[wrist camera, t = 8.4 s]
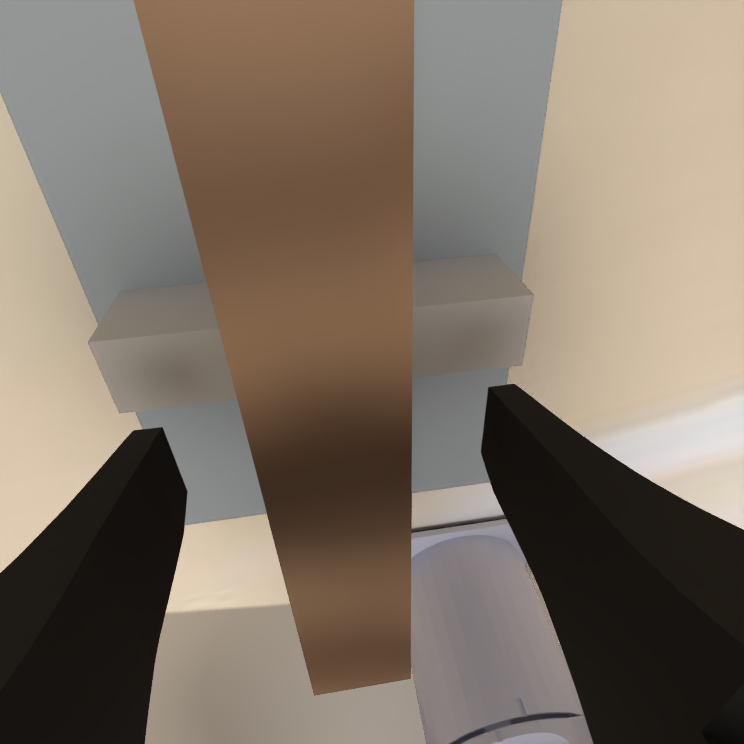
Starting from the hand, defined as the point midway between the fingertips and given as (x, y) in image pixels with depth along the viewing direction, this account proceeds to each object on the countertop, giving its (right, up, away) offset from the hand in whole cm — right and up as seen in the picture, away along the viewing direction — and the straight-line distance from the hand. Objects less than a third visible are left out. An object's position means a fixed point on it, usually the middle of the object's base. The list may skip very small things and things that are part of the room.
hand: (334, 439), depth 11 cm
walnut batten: (0, +2, +3) cm, 3 cm away
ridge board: (-1, +4, +6) cm, 8 cm away
